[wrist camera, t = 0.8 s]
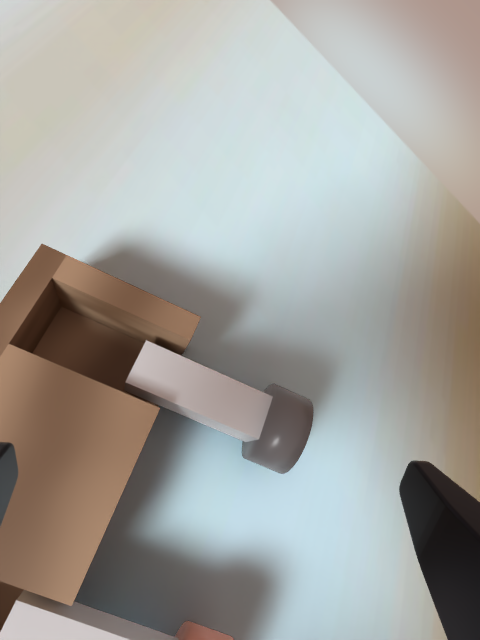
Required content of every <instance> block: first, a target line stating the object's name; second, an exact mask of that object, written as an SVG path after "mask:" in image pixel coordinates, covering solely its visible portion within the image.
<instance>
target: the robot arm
mask: <svg viewBox="0 0 480 640" xmlns="http://www.w3.org/2000/svg"><path fill="white" fill-rule="evenodd" d="M17 478H18V464H17V459H16V453H15V448H14V445H13V444H12V443H10V442H0V527H1V524H2V521H3V518H4V516H5V513H6V510H7V507H8V504H9V502H10V499H11V496H12V493H13V490H14V488H15V485H16V482H17ZM399 491H400V497H401V501H402V504H403V508H404V512H405V515H406V519H407V523H408V526H409V530H410V534H411V537H412V541H413V545H414V549H415V552H416V555H417V559H418V562H419V564H420V567H421V570H422V573H423V575H424V578H425V581H426V583H427V586H428V589H429V591H430V594H431V597H432V599H433V602H434V604H435V607H436V610H437V612H438V615H439V618H440V620H441V623H442V626H443V628H444V631H445V634H446V636H447V639H448V640H480V502H479V501H477V500H476V499H475V498H474V497H472V496H471V495H470V494H469V493H467V492H466V491H465V490H464V489H462V488H461V487H460V486H459V485H457V484H456V483H455V482H454V481H452V480H451V479H450V478H449V477H447V476H446V475H445V474H444V473H442V472H441V471H440V470H439V469H437V468H436V467H435V466H434V465H432V464H431V463H430V462H427V461H411V462H410V463H409V464H408V466H407V468H406V471H405V473H404V476H403V478H402V480H401V483H400V487H399Z"/></svg>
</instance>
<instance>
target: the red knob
mask: <svg viewBox="0 0 480 640" xmlns="http://www.w3.org/2000/svg"><path fill="white" fill-rule="evenodd" d="M0 640H234V638H233V637H232V636H229V635H227V634H224V633H221V632H218V631H216V630H213V629H210V628H207V627H204V626H202V625H199V624H196V623H193V622H190V621H185V622H184V623H183V624H182V625H181V627H180V628H179V630H178V631H177V633H176V635H175V637H174V636H171V635H168V634H165V633H162V632H160V631H157V630H154V629H151V628H148V627H145V626H143V625H140V624H137V623H134V622H131V621H128V620H126V619H123V618H120V617H117V616H114V615H111V614H108V613H106V612H103V611H100V610H97V609H94V608H91V607H89V606H86V605H83V604H80V603H77V602H73V604H72V606H69V605H66V604H64V603H61V602H58V601H55V600H52V599H49V598H46V597H44V596H41V595H38V594H35V593H32V592H29V591H27V590H24V591H23V592H22V593H21V595H20V596H19V597H18V599H17V600H16V602H15V604H14V606H13V608H12V610H11V612H10V614H9V616H8V618H7V620H6V622H5V624H4V626H3V628H2V630H1V632H0Z"/></svg>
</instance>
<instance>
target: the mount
mask: <svg viewBox="0 0 480 640" xmlns="http://www.w3.org/2000/svg"><path fill="white" fill-rule="evenodd" d="M200 318H201V317H200V316H198V315H196V314H193V313H191V312H189V311H187V310H185V309H183V308H180V307H178V306H176V305H174V304H172V303H170V302H167V301H165V300H163V299H161V298H159V297H157V296H154V295H152V294H150V293H148V292H146V291H144V290H141V289H139V288H137V287H135V286H133V285H131V284H128V283H126V282H124V281H122V280H120V279H118V278H115V277H113V276H111V275H109V274H107V273H104V272H102V271H100V270H98V269H96V268H94V267H91V266H89V265H87V264H85V263H83V262H81V261H78V260H76V259H74V258H72V257H70V256H68V255H65V254H63V253H61V252H59V251H57V250H55V249H52V248H50V247H48V246H46V245H44V244H41V246H40V247H39V249H38V250H37V251H36V253H35V254H34V256H33V257H32V259H31V260H30V261H29V263H28V264H27V266H26V267H25V269H24V270H23V271H22V273H21V274H20V276H19V277H18V279H17V280H16V281H15V283H14V284H13V286H12V287H11V289H10V290H9V291H8V293H7V294H6V296H5V297H4V299H3V300H2V302H1V303H0V442H10V443H12V444H13V445H14V448H15V453H16V459H17V464H18V478H17V482H16V485H15V488H14V490H13V493H12V496H11V499H10V502H9V504H8V507H7V510H6V513H5V516H4V518H3V521H2V524H1V527H0V632H1V630H2V628H3V626H4V624H5V622H6V620H7V618H8V616H9V614H10V612H11V610H12V608H13V606H14V604H15V602H16V600H17V599H18V597H19V596H20V595H21V593H22V592H23V591H24V590H27V591H29V592H32V593H35V594H38V595H41V596H44V597H46V598H49V599H52V600H55V601H58V602H61V603H64V604H66V605H69V606H72V604H73V602H74V600H75V598H76V595H77V593H78V591H79V589H80V587H81V584H82V582H83V580H84V578H85V575H86V573H87V571H88V569H89V566H90V564H91V562H92V560H93V557H94V555H95V553H96V551H97V549H98V546H99V544H100V542H101V540H102V537H103V535H104V533H105V531H106V528H107V526H108V524H109V522H110V519H111V517H112V515H113V513H114V510H115V508H116V506H117V504H118V502H119V499H120V497H121V495H122V493H123V490H124V488H125V486H126V484H127V481H128V479H129V477H130V475H131V472H132V470H133V468H134V466H135V464H136V461H137V459H138V457H139V455H140V452H141V450H142V448H143V446H144V443H145V441H146V439H147V437H148V434H149V432H150V430H151V428H152V425H153V423H154V421H155V419H156V417H157V414H158V412H159V410H160V408H159V407H158V406H159V405H157V404H155V403H152V402H150V401H148V400H145V399H143V398H141V397H138V396H136V395H134V394H131V393H129V392H127V391H124V389H125V382H126V380H127V378H128V376H129V374H130V372H131V370H132V368H133V366H134V364H135V362H136V360H137V358H138V356H139V354H140V352H141V350H142V348H143V346H144V344H145V342H146V340H147V341H149V342H151V343H154V344H156V345H158V346H160V347H163V348H165V349H167V350H169V351H172V352H174V353H176V354H178V355H181V356H182V354H183V352H184V351H185V349H186V347H187V346H188V344H189V342H190V340H191V338H192V336H193V334H194V332H195V329H196V327H197V325H198V323H199V320H200Z"/></svg>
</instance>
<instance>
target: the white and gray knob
mask: <svg viewBox="0 0 480 640" xmlns="http://www.w3.org/2000/svg"><path fill="white" fill-rule="evenodd" d="M124 391H127V392H129V393H131V394H134V395H136V396H138V397H141V398H143V399H145V400H148V401H150V402H152V403H155V404H157V405H159V406H162V407H164V408H166V409H169V410H171V411H173V412H176V413H178V414H181V415H183V416H185V417H188V418H190V419H192V420H195V421H197V422H199V423H202V424H204V425H206V426H209V427H211V428H213V429H216V430H218V431H220V432H223V433H225V434H227V435H230V436H232V437H235V438H237V439H239V440H242V441H243V443H242V456H243V458H245V459H247V460H250V461H252V462H254V463H257V464H259V465H261V466H264V467H266V468H269V469H271V470H273V471H276V472H278V473H281V474H284V473H286V472H288V471H289V470H290V469H291V468H292V467H293V466H294V465H295V463H296V462H297V461H298V459H299V457H300V456H301V454H302V452H303V450H304V448H305V445H306V443H307V440H308V437H309V434H310V431H311V427H312V422H313V405H312V402H311V401H310V400H309V399H307V398H305V397H303V396H300V395H298V394H296V393H294V392H291V391H289V390H287V389H285V388H283V387H280V386H278V385H276V384H271V385H269V386H268V387H267V388H266V389H265V390H264V392H261V391H259V390H257V389H255V388H252V387H250V386H248V385H246V384H243V383H241V382H239V381H237V380H234V379H232V378H230V377H228V376H226V375H223V374H221V373H219V372H217V371H214V370H212V369H210V368H208V367H205V366H203V365H201V364H199V363H196V362H194V361H192V360H190V359H187V358H185V357H183V356H181V355H178V354H176V353H174V352H172V351H169V350H167V349H165V348H163V347H160V346H158V345H156V344H154V343H151V342H149V341H147V340H146V342H145V344H144V346H143V348H142V350H141V352H140V354H139V356H138V358H137V360H136V362H135V364H134V366H133V368H132V370H131V372H130V374H129V376H128V378H127V380H126V382H125V389H124Z"/></svg>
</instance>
